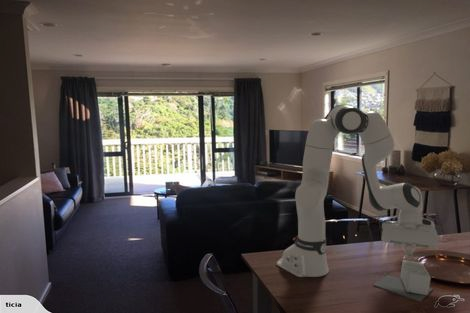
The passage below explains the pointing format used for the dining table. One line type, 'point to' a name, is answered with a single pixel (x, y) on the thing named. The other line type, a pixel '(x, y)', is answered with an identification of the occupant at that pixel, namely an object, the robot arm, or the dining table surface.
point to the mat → (398, 287)
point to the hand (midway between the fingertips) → (408, 255)
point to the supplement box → (415, 277)
